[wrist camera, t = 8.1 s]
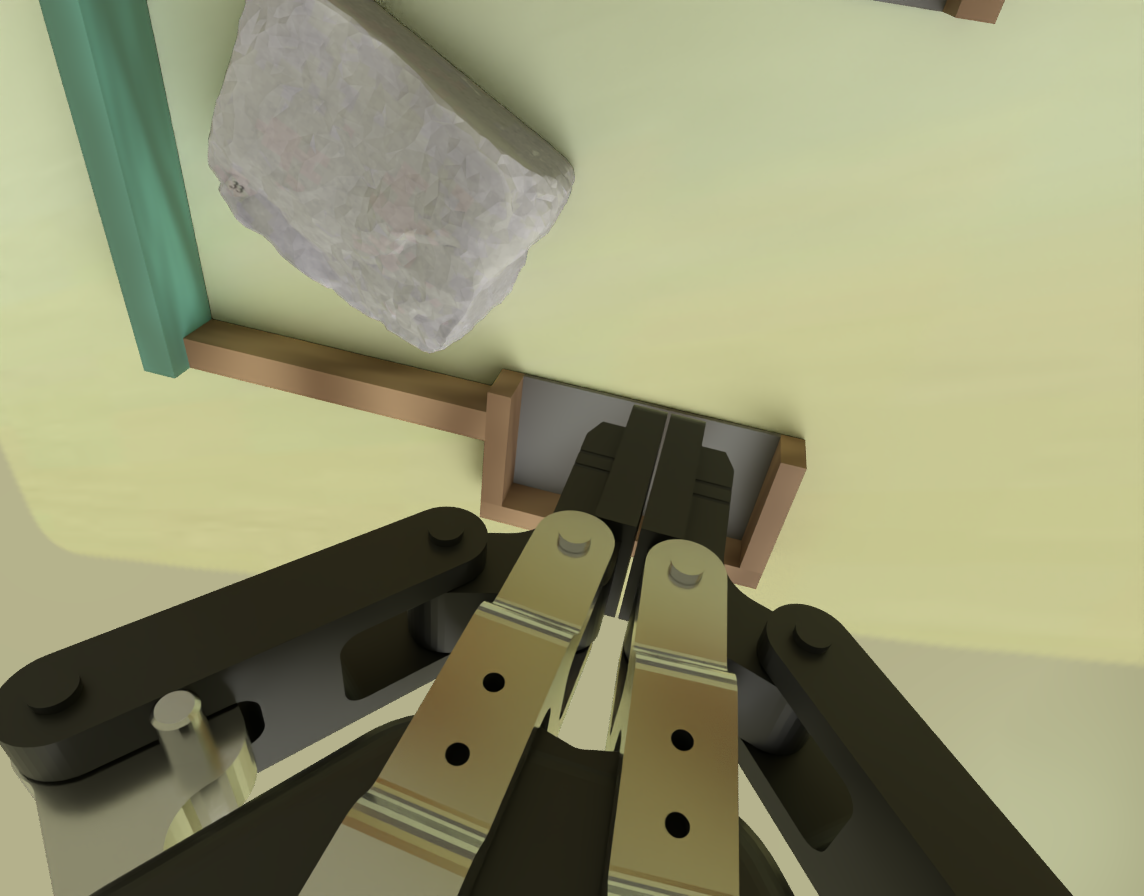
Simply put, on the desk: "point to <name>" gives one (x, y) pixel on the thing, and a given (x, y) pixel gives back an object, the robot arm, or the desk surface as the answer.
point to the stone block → (380, 166)
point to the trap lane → (194, 340)
